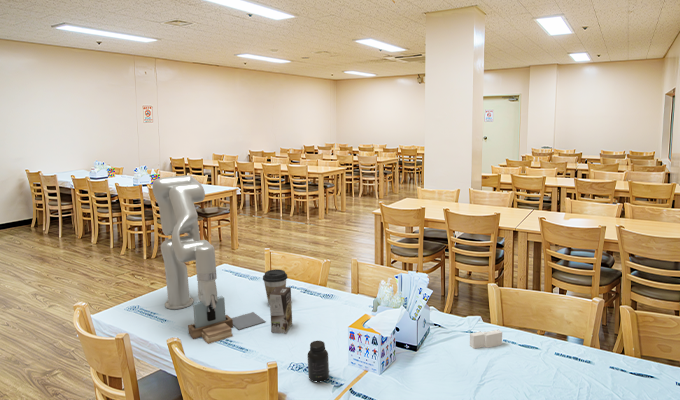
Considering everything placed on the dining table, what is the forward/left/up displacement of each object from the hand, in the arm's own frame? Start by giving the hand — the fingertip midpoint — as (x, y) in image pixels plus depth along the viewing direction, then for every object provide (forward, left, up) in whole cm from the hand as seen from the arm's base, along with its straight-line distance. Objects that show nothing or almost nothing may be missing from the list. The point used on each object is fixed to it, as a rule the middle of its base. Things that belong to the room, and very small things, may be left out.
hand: (210, 318), depth 190 cm
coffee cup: (-8, +34, -5) cm, 35 cm away
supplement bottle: (+56, +16, -5) cm, 58 cm away
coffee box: (+16, +24, -5) cm, 29 cm away
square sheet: (0, 0, -5) cm, 5 cm away
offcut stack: (+7, 0, -6) cm, 9 cm away
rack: (0, 0, -5) cm, 5 cm away
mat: (+1, +15, -5) cm, 16 cm away
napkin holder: (+75, +76, -6) cm, 107 cm away
